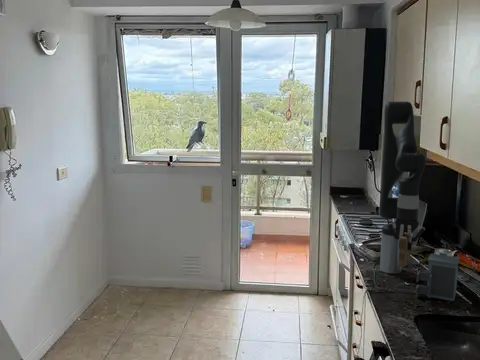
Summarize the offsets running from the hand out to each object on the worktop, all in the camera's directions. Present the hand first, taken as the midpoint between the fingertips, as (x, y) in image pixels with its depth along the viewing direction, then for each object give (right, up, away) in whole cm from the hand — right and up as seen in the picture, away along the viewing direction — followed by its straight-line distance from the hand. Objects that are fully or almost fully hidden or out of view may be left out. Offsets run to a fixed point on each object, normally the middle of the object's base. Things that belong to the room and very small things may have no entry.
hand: (405, 250), depth 185 cm
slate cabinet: (+14, -19, +6) cm, 24 cm away
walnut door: (0, -5, +1) cm, 5 cm away
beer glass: (+20, -17, +16) cm, 31 cm away
